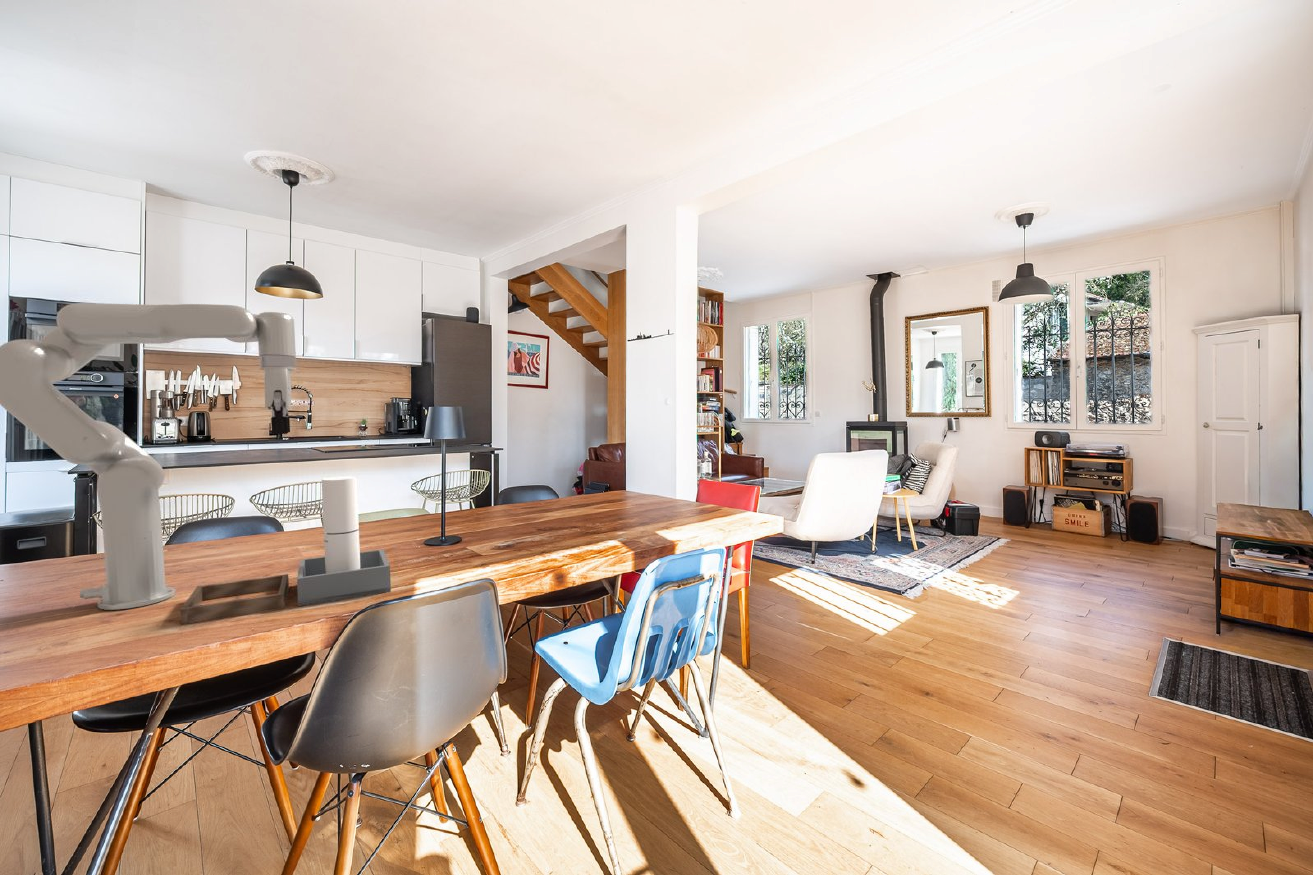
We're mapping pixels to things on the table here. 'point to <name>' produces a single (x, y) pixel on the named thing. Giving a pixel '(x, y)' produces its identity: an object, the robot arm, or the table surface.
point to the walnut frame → (199, 613)
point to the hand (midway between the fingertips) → (281, 433)
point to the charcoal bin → (342, 579)
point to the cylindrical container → (340, 524)
